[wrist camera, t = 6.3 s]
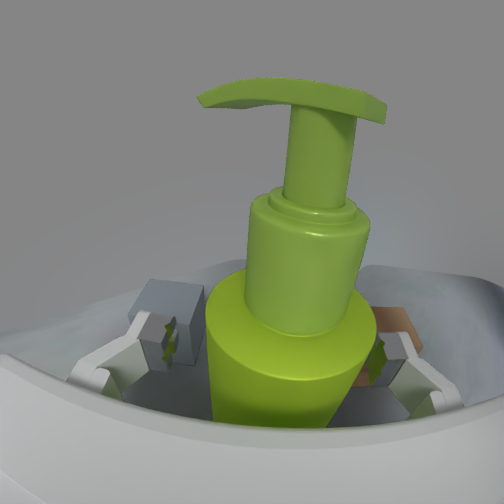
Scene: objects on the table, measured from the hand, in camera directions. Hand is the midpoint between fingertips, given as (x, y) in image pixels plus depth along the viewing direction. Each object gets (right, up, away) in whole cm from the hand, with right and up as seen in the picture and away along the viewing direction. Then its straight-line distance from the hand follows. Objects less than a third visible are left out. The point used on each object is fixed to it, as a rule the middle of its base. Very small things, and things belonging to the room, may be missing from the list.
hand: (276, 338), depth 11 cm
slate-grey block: (-8, -5, +13) cm, 16 cm away
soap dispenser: (-1, -10, +5) cm, 11 cm away
